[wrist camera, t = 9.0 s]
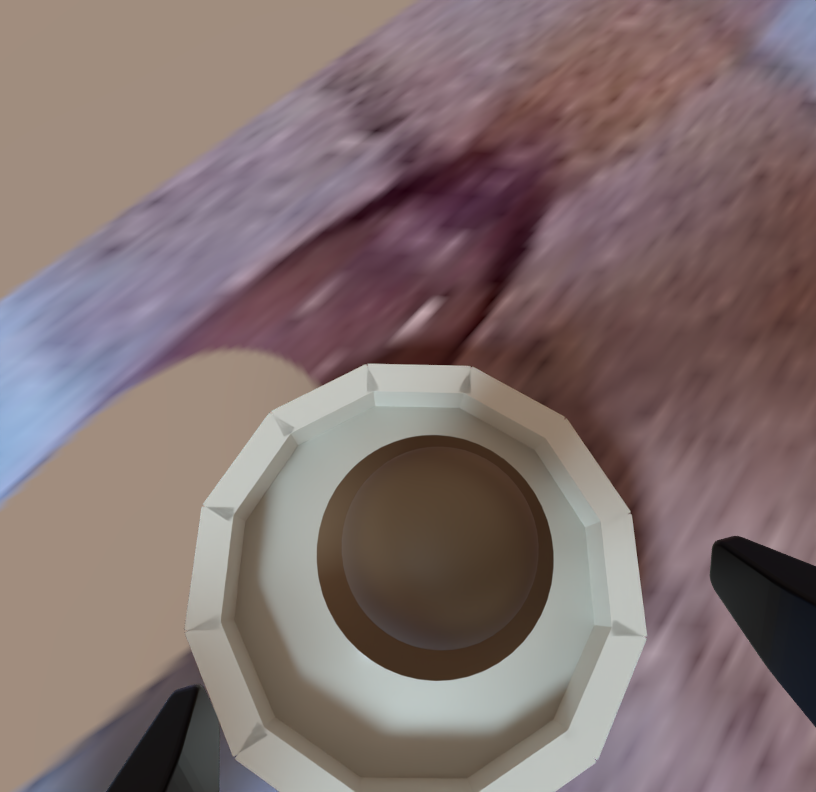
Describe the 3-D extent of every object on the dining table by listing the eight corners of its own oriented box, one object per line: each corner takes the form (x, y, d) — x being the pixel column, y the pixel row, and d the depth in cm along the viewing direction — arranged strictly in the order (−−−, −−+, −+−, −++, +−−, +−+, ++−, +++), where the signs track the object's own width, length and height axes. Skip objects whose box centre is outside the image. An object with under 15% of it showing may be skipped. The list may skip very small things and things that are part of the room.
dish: (325, 912, 19) (313, 963, 16) (156, 496, 23) (126, 483, 21) (693, 656, 22) (734, 663, 19) (478, 333, 26) (488, 303, 24)
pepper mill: (427, 670, 20) (481, 789, 7) (328, 584, 21) (226, 556, 8) (502, 564, 22) (659, 509, 9) (407, 487, 23) (422, 336, 10)
